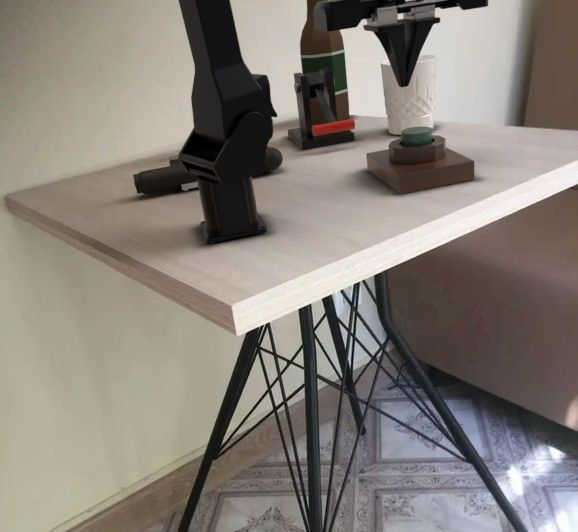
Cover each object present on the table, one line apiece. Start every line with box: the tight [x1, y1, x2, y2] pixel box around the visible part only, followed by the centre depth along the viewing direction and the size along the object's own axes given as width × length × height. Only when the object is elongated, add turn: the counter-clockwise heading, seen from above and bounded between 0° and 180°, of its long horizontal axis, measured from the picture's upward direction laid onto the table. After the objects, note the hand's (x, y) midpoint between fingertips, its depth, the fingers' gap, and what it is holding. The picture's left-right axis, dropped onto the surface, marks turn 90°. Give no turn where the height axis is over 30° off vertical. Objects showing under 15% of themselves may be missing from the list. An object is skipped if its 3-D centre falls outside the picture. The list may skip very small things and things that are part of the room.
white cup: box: [380, 54, 437, 136], centre depth 103 cm, size 8×8×10 cm
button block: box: [365, 134, 475, 195], centre depth 84 cm, size 12×9×4 cm
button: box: [400, 127, 433, 146], centre depth 82 cm, size 4×4×2 cm
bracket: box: [287, 68, 355, 151], centre depth 106 cm, size 10×8×10 cm
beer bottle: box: [299, 0, 350, 125], centre depth 114 cm, size 8×8×24 cm
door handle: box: [132, 145, 284, 195], centre depth 97 cm, size 3×20×16 cm
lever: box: [305, 71, 356, 136], centre depth 102 cm, size 12×6×2 cm, turn 13°
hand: (403, 86), depth 81 cm, fingers closed
